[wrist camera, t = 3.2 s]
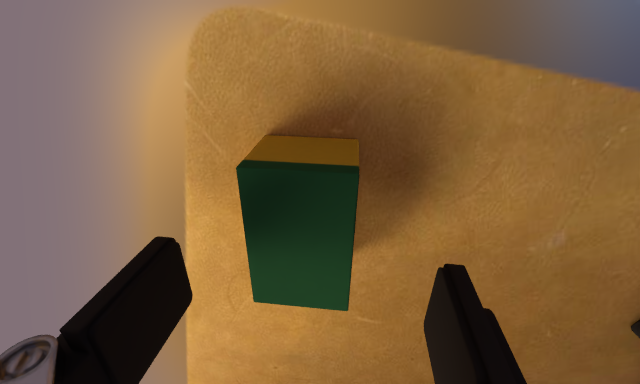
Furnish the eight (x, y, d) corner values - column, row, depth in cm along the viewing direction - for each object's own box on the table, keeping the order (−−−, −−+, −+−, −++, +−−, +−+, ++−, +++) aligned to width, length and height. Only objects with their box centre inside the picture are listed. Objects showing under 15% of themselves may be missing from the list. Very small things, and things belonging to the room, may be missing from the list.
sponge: (273, 249, 18) (253, 302, 14) (265, 134, 14) (235, 167, 11) (349, 255, 17) (348, 312, 14) (358, 138, 14) (359, 174, 10)
